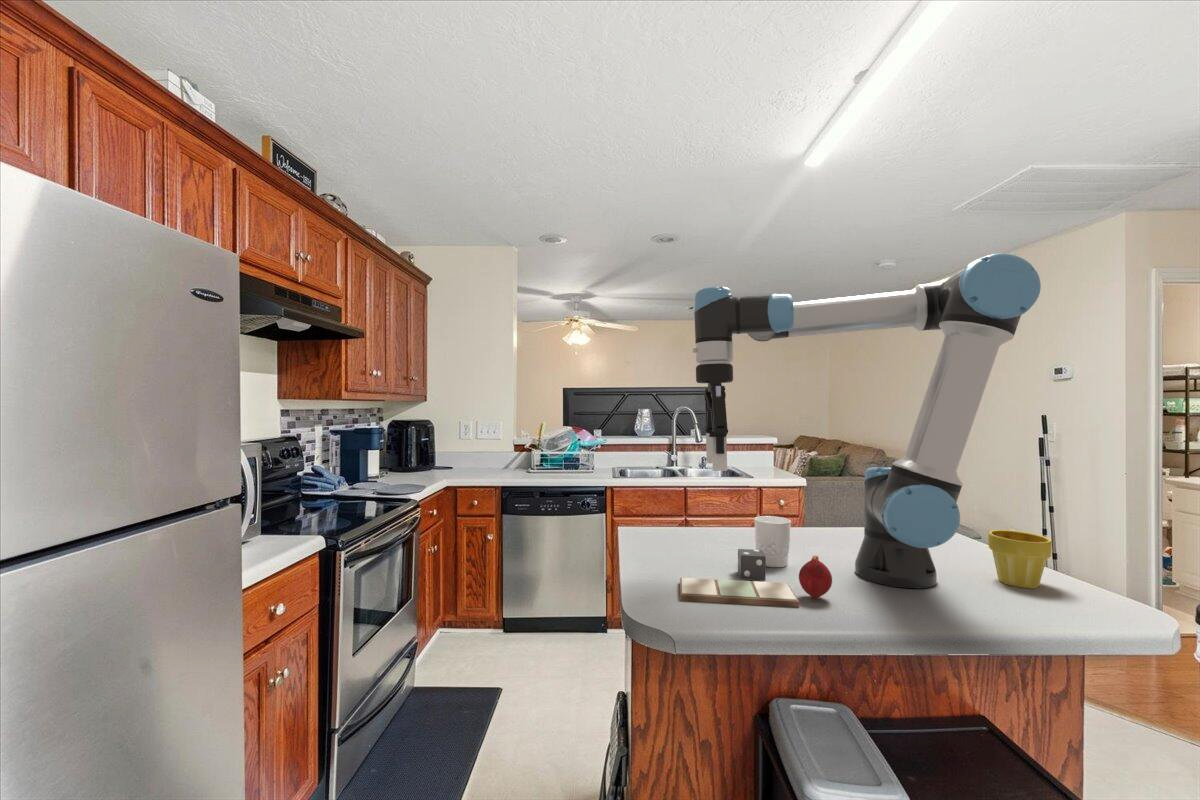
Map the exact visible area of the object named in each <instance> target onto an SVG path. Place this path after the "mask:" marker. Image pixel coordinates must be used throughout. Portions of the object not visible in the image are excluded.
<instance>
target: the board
mask: <svg viewBox="0 0 1200 800" xmlns="http://www.w3.org/2000/svg"><path fill="white" fill-rule="evenodd" d="M679 587H680V588H679V590H680V593H679V595H680V601H683V602H701V603H702V602H703V603H716V604H717V603H719V604H733V605H734V604H738V605H752V606H753V605H754V606H770V607H771V606H774V607H791V608H800V601H799V599H798V598H797V596H796V594H795V593H794V591H793V590H792V588H791V586H790V585H789V583H787V582H778V581H777V582H775V581H774V582H773V581H759V580H758V581H757V580H751V581H750V580H739V579H738V580H737V579H735V580H733V579H714V578H700V577H699V578H696V577H680V578H679Z"/></svg>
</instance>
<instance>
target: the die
mask: <svg viewBox="0 0 1200 800" xmlns="http://www.w3.org/2000/svg"><path fill="white" fill-rule="evenodd" d="M766 567H767V566H766V556H765V555H764V553H763V551H762V550H756V549H752V548H751V549H750V548H738V549H737V573H738V576H739V579H740V580H751V581H757V580H758V581H766Z"/></svg>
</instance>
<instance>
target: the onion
mask: <svg viewBox="0 0 1200 800" xmlns="http://www.w3.org/2000/svg"><path fill="white" fill-rule="evenodd" d="M798 580H799V584H800V587H801V588H802V590H803V591H804V592H805V593H806V594H807V595H809V596H810V597H811V598H812V599H814V600H815V599H819V598H820V597H823V596H824V595H826V593H828V592H829V591H830V589H831V588H832V585H833V576H832V572H831V571H830V569H829V568H828V567H827V565H825V564H824V563H823V562H821V561H820V558H819V556H818V555H815V554H814V555H813V556H812V557H811V559H810V560H809V561H807V562H806V563H805V564H804V565H802V566H801V568H800V570H799V572H798Z"/></svg>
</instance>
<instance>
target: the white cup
mask: <svg viewBox="0 0 1200 800" xmlns="http://www.w3.org/2000/svg"><path fill="white" fill-rule="evenodd" d="M791 524H792V521H791V519H789V518H786V517H783V516H781V517H780V516H776V515H775V516H773V515H761V516H756V517H754V534H755V535H754V537H755V550H762V551H763V553H764V555H765V556H766V567H769V568H784V567H787V566H788V565H789V553H790V541H791Z"/></svg>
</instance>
